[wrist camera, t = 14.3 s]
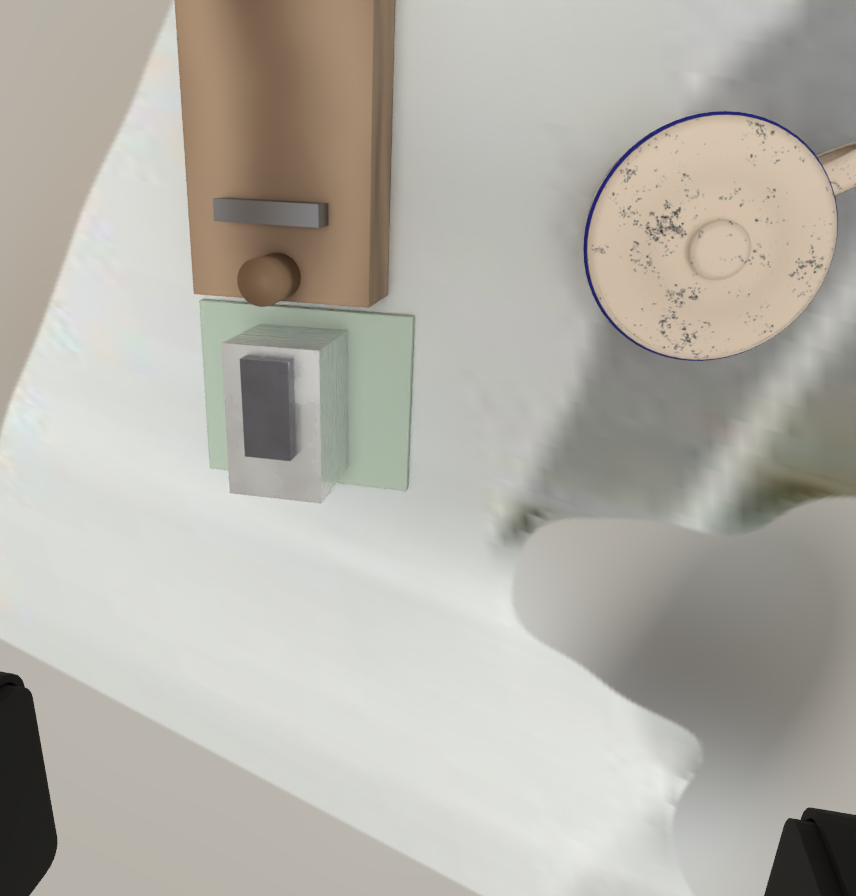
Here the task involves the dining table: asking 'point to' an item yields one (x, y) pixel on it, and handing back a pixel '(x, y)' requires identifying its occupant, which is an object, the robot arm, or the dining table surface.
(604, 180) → the teacup with lid
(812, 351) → the dining table surface
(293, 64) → the plane body
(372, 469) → the mat
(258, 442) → the lever cap
